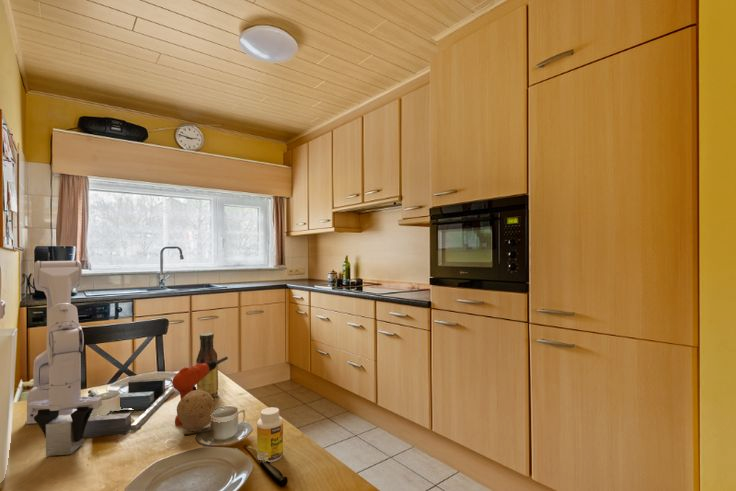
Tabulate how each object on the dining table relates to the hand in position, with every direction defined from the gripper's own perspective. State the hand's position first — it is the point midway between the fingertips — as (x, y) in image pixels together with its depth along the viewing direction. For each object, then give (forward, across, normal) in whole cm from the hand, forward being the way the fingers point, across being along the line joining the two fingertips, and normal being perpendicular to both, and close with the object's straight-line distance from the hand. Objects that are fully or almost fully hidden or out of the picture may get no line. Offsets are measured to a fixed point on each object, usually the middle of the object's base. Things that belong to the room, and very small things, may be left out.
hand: (65, 440), depth 89 cm
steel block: (+2, 0, 0) cm, 2 cm away
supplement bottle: (+2, +47, -11) cm, 48 cm away
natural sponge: (+2, +27, +6) cm, 28 cm away
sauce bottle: (+2, +24, +29) cm, 38 cm away
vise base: (+2, +5, +21) cm, 22 cm away
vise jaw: (+2, +5, +28) cm, 28 cm away
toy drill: (+2, +26, +16) cm, 31 cm away
